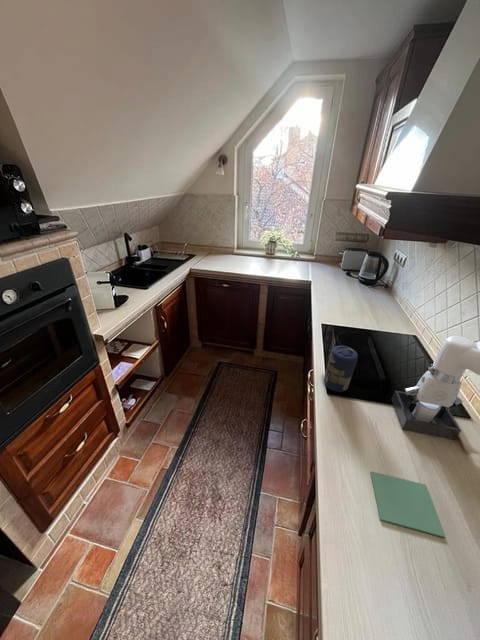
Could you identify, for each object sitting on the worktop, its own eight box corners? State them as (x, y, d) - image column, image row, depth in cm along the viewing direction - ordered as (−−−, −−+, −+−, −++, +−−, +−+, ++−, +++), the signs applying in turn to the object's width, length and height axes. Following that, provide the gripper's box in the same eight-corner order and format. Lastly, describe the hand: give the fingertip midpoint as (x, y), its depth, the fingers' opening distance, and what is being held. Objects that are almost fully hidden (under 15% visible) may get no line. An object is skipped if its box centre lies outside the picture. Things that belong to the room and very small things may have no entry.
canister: (321, 376, 107) (330, 340, 98) (344, 378, 106) (355, 343, 97) (325, 392, 99) (334, 355, 90) (350, 395, 98) (362, 358, 89)
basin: (436, 408, 93) (442, 398, 91) (454, 440, 82) (461, 430, 80) (391, 399, 97) (395, 390, 94) (401, 429, 85) (406, 419, 83)
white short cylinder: (405, 412, 90) (412, 398, 87) (418, 406, 93) (425, 392, 89) (424, 427, 85) (432, 413, 81) (437, 421, 87) (445, 406, 84)
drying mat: (424, 485, 69) (425, 484, 69) (444, 538, 59) (445, 537, 59) (370, 472, 72) (370, 471, 72) (379, 520, 62) (380, 519, 62)
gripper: (418, 376, 78) (399, 415, 86) (484, 387, 74) (457, 426, 83) (410, 361, 84) (393, 398, 93) (470, 370, 81) (447, 408, 89)
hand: (423, 411), depth 88 cm, fingers open, 8 cm apart
